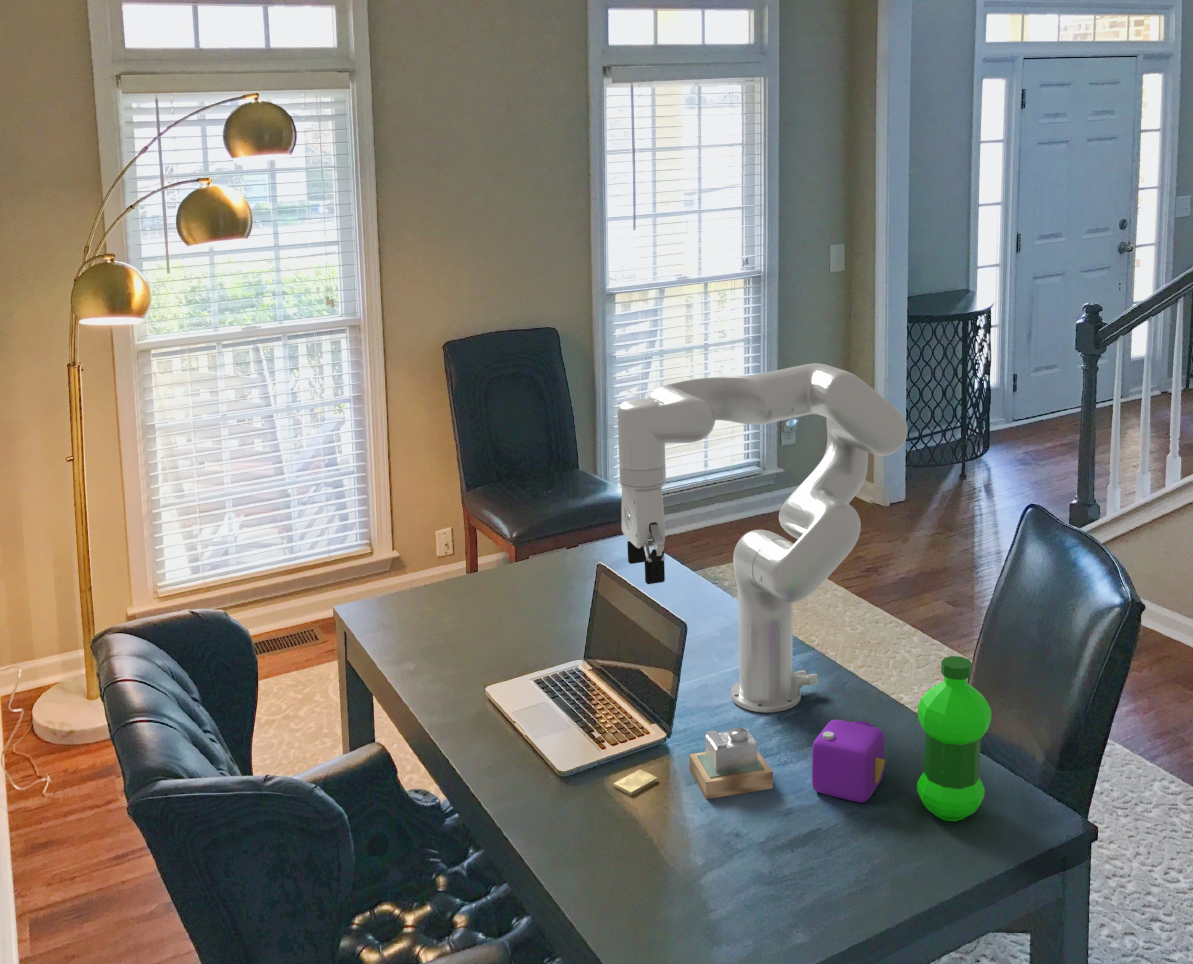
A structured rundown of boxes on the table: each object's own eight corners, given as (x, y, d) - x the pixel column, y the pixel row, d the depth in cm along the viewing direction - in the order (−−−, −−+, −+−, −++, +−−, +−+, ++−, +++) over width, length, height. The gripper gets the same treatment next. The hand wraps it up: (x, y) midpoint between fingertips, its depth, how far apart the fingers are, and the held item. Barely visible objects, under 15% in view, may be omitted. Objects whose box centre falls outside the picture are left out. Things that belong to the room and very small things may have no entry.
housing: (716, 772, 201) (715, 744, 200) (705, 757, 206) (704, 729, 204) (757, 764, 203) (757, 736, 201) (745, 749, 208) (745, 722, 206)
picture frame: (753, 760, 210) (753, 743, 209) (772, 788, 202) (772, 770, 201) (689, 770, 208) (689, 753, 207) (706, 799, 200) (705, 781, 199)
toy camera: (889, 764, 208) (891, 709, 204) (879, 809, 195) (881, 751, 192) (823, 756, 211) (824, 701, 208) (808, 799, 199) (809, 742, 196)
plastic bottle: (941, 786, 201) (947, 641, 193) (998, 813, 193) (1008, 663, 185) (900, 810, 195) (905, 661, 187) (958, 839, 187) (966, 685, 179)
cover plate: (640, 775, 209) (640, 769, 208) (657, 784, 206) (657, 777, 205) (613, 790, 205) (613, 783, 204) (631, 798, 202) (631, 792, 202)
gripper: (606, 463, 215) (610, 557, 221) (636, 493, 199) (640, 594, 205) (648, 458, 217) (651, 552, 222) (681, 487, 201) (684, 587, 206)
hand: (646, 572), depth 214 cm, fingers open, 9 cm apart
